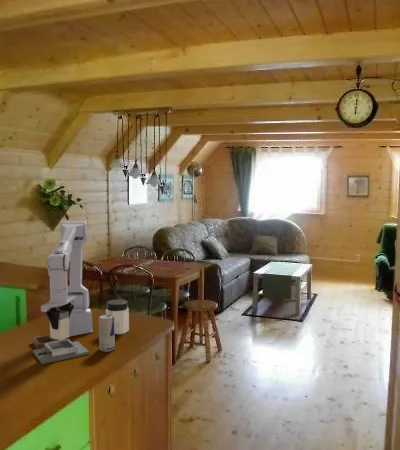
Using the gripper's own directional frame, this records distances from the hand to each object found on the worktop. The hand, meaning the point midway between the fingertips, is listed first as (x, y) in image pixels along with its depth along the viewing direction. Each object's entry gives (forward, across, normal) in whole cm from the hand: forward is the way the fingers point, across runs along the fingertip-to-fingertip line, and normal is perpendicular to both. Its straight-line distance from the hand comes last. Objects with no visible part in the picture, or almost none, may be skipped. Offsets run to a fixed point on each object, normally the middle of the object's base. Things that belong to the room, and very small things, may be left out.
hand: (60, 327), depth 161 cm
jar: (+10, -28, +2) cm, 30 cm away
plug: (+4, 0, 0) cm, 4 cm away
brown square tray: (+9, -4, -12) cm, 15 cm away
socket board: (+10, 0, 0) cm, 10 cm away
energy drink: (+10, -11, +11) cm, 19 cm away
